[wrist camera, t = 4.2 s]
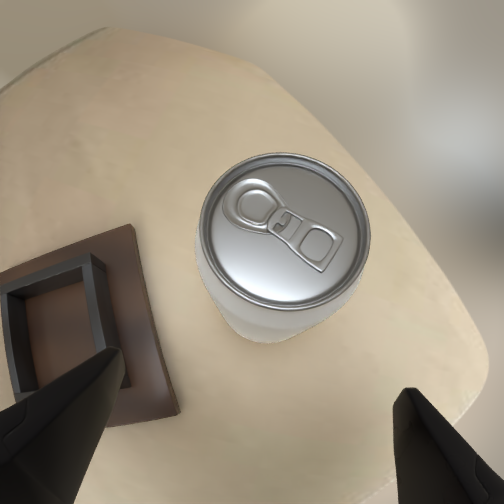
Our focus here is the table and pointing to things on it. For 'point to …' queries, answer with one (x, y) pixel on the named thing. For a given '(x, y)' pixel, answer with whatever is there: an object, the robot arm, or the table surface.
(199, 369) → the table surface
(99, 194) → the table surface
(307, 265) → the can
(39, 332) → the dark brown square tray
